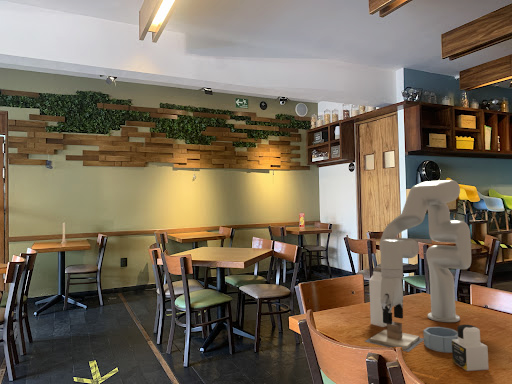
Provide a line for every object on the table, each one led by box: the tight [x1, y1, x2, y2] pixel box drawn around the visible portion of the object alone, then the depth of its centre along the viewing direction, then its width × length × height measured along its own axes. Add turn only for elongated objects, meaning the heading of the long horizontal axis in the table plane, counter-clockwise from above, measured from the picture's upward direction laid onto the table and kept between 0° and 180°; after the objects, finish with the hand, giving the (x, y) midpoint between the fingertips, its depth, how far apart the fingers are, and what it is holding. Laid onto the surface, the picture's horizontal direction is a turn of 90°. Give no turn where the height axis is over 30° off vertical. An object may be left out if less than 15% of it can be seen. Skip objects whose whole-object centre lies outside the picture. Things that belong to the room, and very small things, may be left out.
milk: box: [368, 271, 389, 328], centre depth 159 cm, size 6×6×22 cm
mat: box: [364, 331, 424, 353], centre depth 139 cm, size 16×16×1 cm
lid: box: [370, 320, 420, 349], centre depth 139 cm, size 13×13×6 cm
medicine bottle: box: [451, 324, 490, 372], centre depth 117 cm, size 7×7×12 cm
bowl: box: [422, 326, 458, 353], centre depth 132 cm, size 11×11×6 cm
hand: (393, 320), depth 139 cm, fingers open, 9 cm apart
